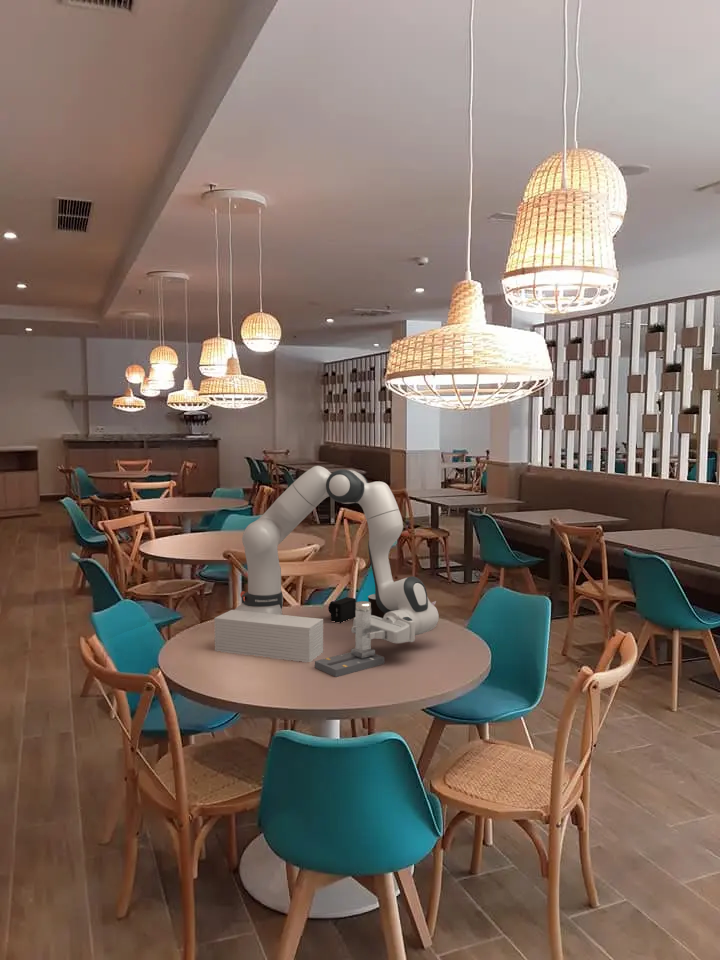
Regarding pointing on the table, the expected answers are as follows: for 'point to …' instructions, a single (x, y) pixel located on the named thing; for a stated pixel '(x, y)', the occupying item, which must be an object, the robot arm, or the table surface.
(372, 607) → the coffee mug
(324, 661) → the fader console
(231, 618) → the stack of papers
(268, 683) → the table surface
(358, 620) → the lever
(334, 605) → the digital camera
